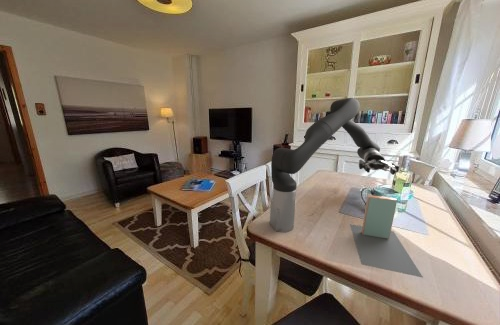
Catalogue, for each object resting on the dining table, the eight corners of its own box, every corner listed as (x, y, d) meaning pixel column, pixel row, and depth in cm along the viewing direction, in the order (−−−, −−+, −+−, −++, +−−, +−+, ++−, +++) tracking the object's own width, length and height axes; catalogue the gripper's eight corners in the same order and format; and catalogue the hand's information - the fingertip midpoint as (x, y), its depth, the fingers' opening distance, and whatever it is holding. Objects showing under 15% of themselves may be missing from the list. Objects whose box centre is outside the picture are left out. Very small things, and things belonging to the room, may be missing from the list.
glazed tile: (361, 231, 79) (367, 194, 75) (387, 236, 76) (395, 198, 72) (362, 234, 77) (369, 197, 73) (389, 239, 74) (397, 200, 70)
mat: (349, 225, 84) (349, 224, 84) (393, 232, 79) (393, 231, 79) (361, 265, 62) (361, 264, 62) (422, 279, 57) (423, 277, 57)
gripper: (357, 151, 95) (362, 161, 80) (393, 152, 89) (404, 164, 75) (355, 165, 97) (359, 178, 83) (390, 168, 92) (400, 182, 77)
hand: (381, 171), depth 79 cm, fingers open, 8 cm apart
